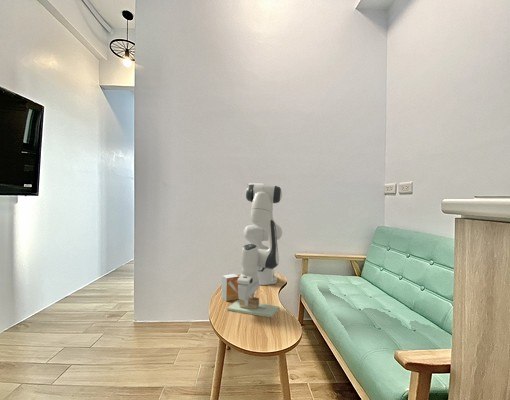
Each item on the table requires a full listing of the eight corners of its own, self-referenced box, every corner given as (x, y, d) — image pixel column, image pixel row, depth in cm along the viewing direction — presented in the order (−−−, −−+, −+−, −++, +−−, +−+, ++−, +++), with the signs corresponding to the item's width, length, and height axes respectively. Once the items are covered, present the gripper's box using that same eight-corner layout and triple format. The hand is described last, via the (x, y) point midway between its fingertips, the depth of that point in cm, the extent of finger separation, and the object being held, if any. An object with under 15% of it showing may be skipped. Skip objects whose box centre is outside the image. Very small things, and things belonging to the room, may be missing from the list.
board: (236, 302, 161) (236, 299, 161) (279, 308, 153) (279, 306, 153) (227, 310, 150) (227, 307, 150) (272, 317, 142) (272, 315, 142)
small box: (226, 301, 162) (226, 278, 162) (221, 298, 168) (221, 275, 167) (239, 298, 167) (239, 276, 167) (233, 295, 172) (233, 273, 172)
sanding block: (243, 303, 156) (243, 295, 156) (259, 305, 153) (259, 297, 153) (239, 306, 151) (239, 298, 151) (255, 309, 148) (255, 301, 148)
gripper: (251, 270, 163) (251, 295, 163) (235, 281, 144) (235, 309, 144) (262, 272, 160) (261, 297, 161) (247, 282, 141) (247, 311, 142)
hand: (249, 302), depth 152 cm, fingers closed on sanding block, 5 cm apart
